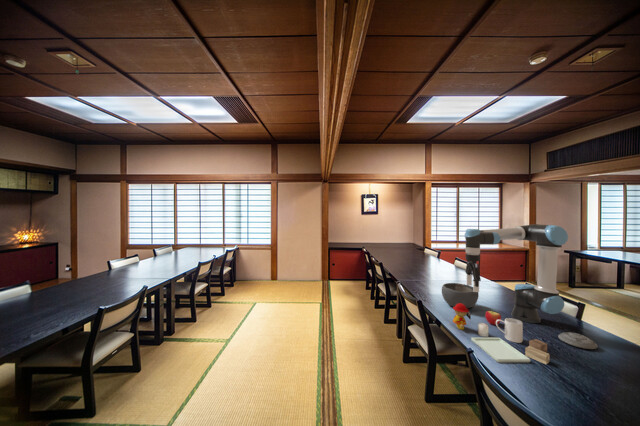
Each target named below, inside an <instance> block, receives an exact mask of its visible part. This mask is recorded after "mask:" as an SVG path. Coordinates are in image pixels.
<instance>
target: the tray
mask: <svg viewBox="0 0 640 426" xmlns="http://www.w3.org/2000/svg"><path fill="white" fill-rule="evenodd" d="M470 340H471V342H472V343H474V344H475V346H478V348H479V349H481V350H482V351H484V352H485V353H486V354H487V356H489V357H490V358H492V359H493V360H494V361H495V362H496V363H531V358H530V357H527V356H525V354H523V353H522V352H520V351H519V350H517V349H516V348H515V347H513V346H512V345H511V344H509V343H508V342H507V341H505V340H503V339H502V338H501V337H470Z"/></svg>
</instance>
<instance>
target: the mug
mask: <svg viewBox="0 0 640 426" xmlns="http://www.w3.org/2000/svg"><path fill="white" fill-rule="evenodd" d="M498 321H500V322H502V323H503V324H504V330H503V329H501V327H499V324H498V325H497V322H498ZM495 326H496V327H497V329H498V330H499V331H500V332H501V333H503V334H504V338H505V339H506V340H508V341H509V342H512V343H516V344H517V343H519V344H520V343H522V342H523V339H524V337H523V336H524V335H523V333H524V332H523V328H524V327H523V326H524V324H523V321H520V320H518V319H515V318H514V317H511V318H510V317H507V318H505V319H504V320H502V319H501V320H496V325H495Z"/></svg>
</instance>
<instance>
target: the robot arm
mask: <svg viewBox="0 0 640 426" xmlns="http://www.w3.org/2000/svg"><path fill="white" fill-rule="evenodd" d="M464 238H465V248H464V250H465V260H466V267H465V274H466V285H469V286H472V285H473V286H472V287H473V291H474V292H478V293H479V292H480V282H481V273H480V267H479V266H480V265H479V263H478V262H480V261H481V245H498V244H499V243H500V242H501V241H507V240H509V241H510V240H517V241H528V242H534V243H535V246H536V247H537V248H538V260H537V261H538V263H537V264H538V265H537V280H536V282H537V283H536V284H537V285H535V284H530V283H529V284H528V283H517V284H515V286H514V289H513V290H514V306H513V308H512V311H511V318H513V319H517V320H519V321H521V322H525V323H530V324H540V323H541V317H540V314H539V311H538V310H540V311H542V312H543V313H547V314H550V315H556V314H558V313H560V312H562V311H563V309H564V307H565V300H563V298H562V297H561V296H560V291H559V290H558V289H557V273H558V257H559V256H558V255H559V250H561V249H562V247H563V245H565V244H566V242H568V240H569V235H568V231H567V230H566V229H565V228H563V227H562V226H560V225H555V224H535V223H534V224H528V225H527V224H526V225H517V226H514V227H508V228H507V227H506V228H496V229H495V228H494V229H493V228H492V229H477V228H475V229H474V228H467V229H466V230H465V233H464ZM472 279H473V280H472ZM472 281H473V282H472Z"/></svg>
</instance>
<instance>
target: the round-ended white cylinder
mask: <svg viewBox="0 0 640 426" xmlns="http://www.w3.org/2000/svg"><path fill="white" fill-rule="evenodd" d="M477 327H478V329H477V330H478V331H477V334H478V336H480V337H481V338H489V325H488V324H487V323H484V322H478V325H477Z"/></svg>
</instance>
